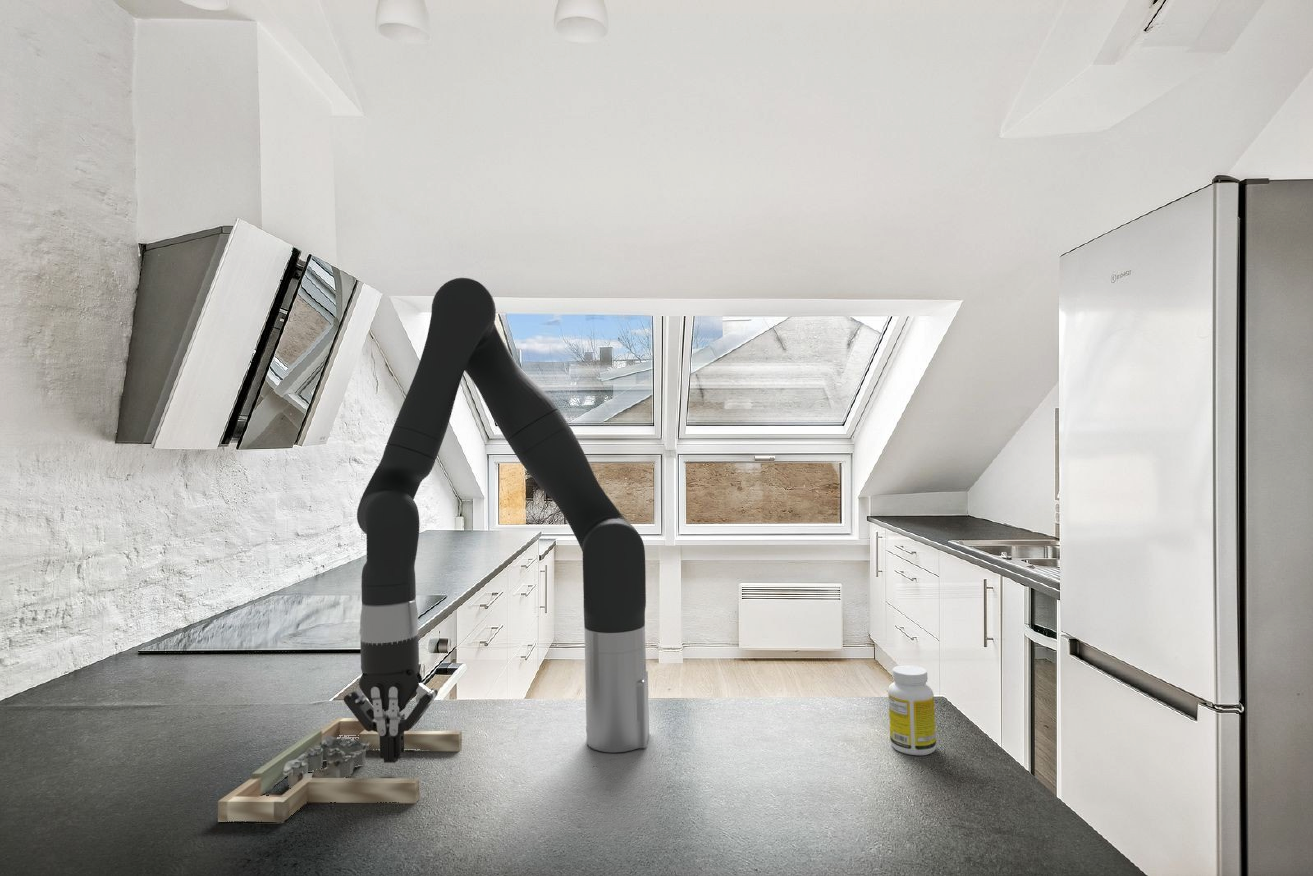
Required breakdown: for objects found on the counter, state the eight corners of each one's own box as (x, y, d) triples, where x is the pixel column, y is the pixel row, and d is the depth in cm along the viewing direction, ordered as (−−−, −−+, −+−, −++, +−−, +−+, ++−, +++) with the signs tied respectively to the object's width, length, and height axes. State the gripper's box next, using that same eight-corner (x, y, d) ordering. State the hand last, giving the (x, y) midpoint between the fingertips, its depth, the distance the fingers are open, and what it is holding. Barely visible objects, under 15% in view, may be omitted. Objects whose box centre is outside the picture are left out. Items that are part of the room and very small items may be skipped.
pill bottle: (935, 741, 100) (932, 665, 100) (937, 759, 94) (934, 678, 94) (890, 736, 102) (887, 662, 102) (890, 754, 96) (887, 674, 96)
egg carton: (328, 797, 88) (328, 765, 88) (276, 794, 89) (276, 762, 89) (375, 761, 98) (375, 732, 99) (328, 758, 100) (328, 730, 100)
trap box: (473, 734, 106) (473, 715, 107) (397, 824, 80) (397, 798, 80) (336, 734, 108) (336, 715, 108) (217, 822, 82) (217, 797, 82)
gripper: (446, 626, 98) (449, 748, 97) (357, 627, 99) (359, 749, 98) (425, 640, 90) (427, 773, 90) (329, 641, 91) (331, 773, 91)
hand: (392, 760), depth 94 cm, fingers closed
